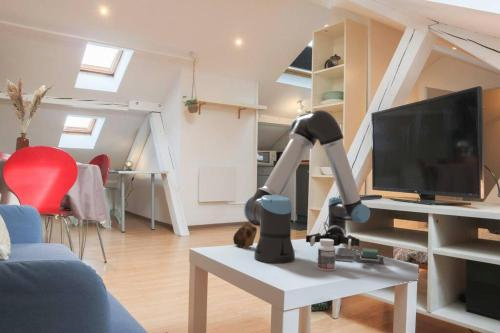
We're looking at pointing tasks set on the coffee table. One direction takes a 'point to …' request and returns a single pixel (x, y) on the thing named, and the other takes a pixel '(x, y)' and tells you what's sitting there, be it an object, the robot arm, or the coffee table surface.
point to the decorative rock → (245, 235)
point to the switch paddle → (369, 253)
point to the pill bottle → (326, 255)
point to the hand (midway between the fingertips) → (330, 243)
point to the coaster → (344, 258)
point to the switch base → (369, 260)
